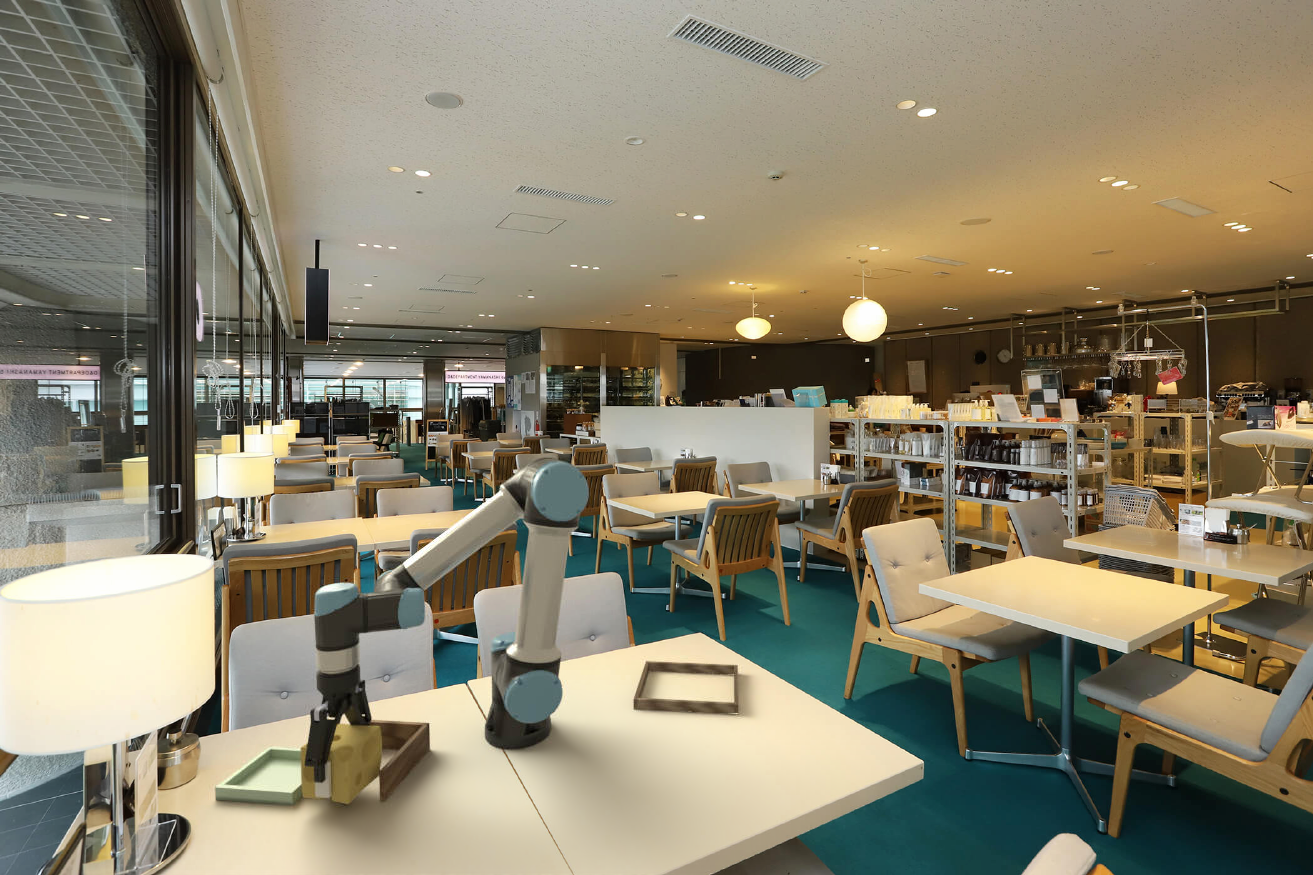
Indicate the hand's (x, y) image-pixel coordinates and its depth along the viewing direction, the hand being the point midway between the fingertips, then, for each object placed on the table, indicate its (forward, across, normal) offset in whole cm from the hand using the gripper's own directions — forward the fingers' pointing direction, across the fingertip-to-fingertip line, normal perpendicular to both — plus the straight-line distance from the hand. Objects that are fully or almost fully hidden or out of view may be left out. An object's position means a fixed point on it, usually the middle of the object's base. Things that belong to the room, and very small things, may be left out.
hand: (341, 779), depth 126 cm
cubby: (+4, -10, 0) cm, 11 cm away
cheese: (+2, 0, 0) cm, 2 cm away
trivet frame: (+4, -56, +63) cm, 84 cm away
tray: (+4, -5, -17) cm, 18 cm away
